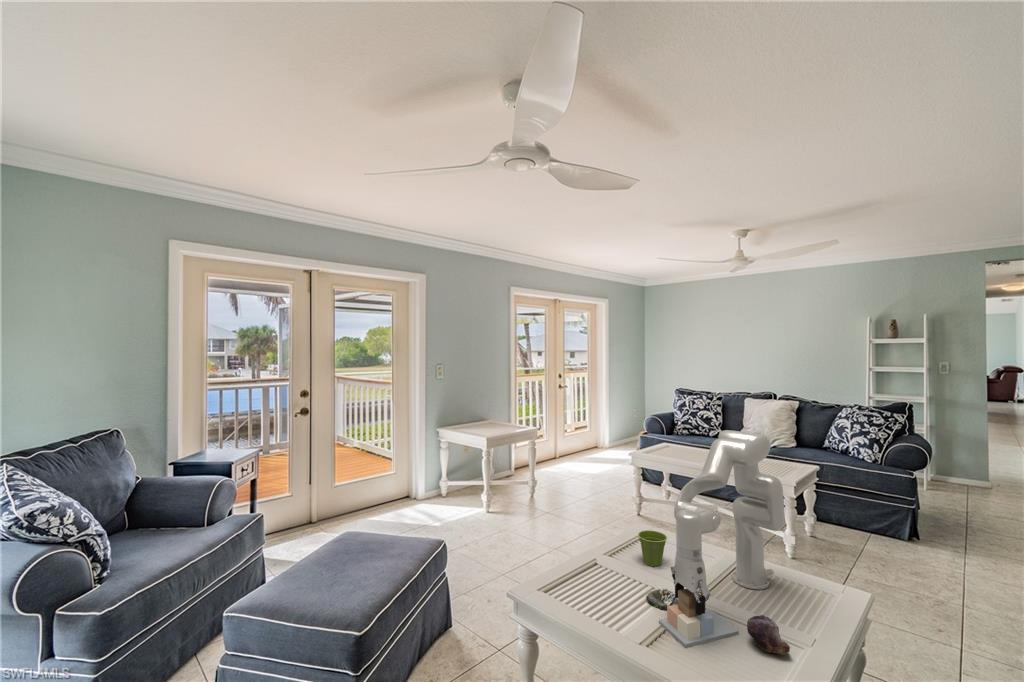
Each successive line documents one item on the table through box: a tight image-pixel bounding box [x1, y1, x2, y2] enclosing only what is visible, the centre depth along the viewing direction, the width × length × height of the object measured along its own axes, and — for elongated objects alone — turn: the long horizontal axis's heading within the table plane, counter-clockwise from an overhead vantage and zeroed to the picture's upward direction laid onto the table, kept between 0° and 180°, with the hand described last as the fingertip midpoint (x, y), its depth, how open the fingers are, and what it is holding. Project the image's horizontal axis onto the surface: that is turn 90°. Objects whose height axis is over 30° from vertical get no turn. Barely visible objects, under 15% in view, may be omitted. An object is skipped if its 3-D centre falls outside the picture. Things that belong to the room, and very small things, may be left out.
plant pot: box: [637, 529, 668, 567], centre depth 191 cm, size 12×12×11 cm
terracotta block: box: [666, 604, 684, 630], centre depth 147 cm, size 5×5×5 cm
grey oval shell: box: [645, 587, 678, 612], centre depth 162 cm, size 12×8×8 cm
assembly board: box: [658, 608, 740, 649], centre depth 146 cm, size 20×13×1 cm, turn 108°
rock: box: [746, 614, 791, 656], centre depth 137 cm, size 12×9×10 cm
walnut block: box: [677, 588, 702, 618], centre depth 146 cm, size 5×5×6 cm
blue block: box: [695, 611, 714, 636], centre depth 144 cm, size 5×5×5 cm
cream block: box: [677, 614, 700, 640], centre depth 142 cm, size 5×5×5 cm
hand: (689, 605), depth 146 cm, fingers open, 9 cm apart
